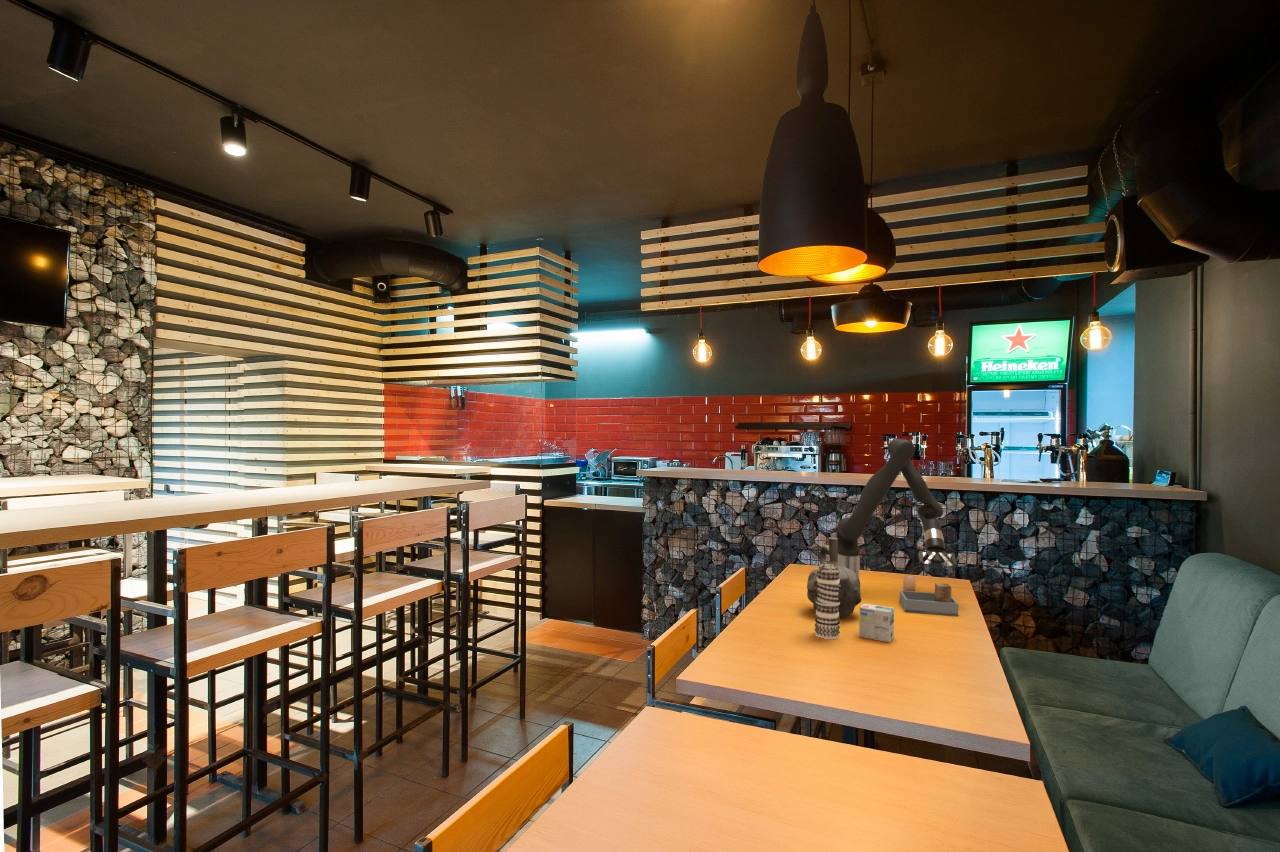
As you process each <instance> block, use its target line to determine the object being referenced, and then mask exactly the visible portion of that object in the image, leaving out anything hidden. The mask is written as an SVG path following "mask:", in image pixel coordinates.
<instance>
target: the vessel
mask: <svg viewBox="0 0 1280 852" xmlns="http://www.w3.org/2000/svg"><path fill="white" fill-rule="evenodd" d="M837 545H838V538H837V537H828V544H823V545H822V546H821V548H820V551H819V566H820V565H821V564H832V565H835V566H837V568H838V569H839V570H840V571H839V579H840V582H839V584H840V585H841V587H840V588H838V589H840V590H841V592H839V593H838V594H839V595H840V596H841V597H840V598H839V599H840V600H841V601H840V605H839V610H838V611H839V617H840V618H845V617H849V616H851V615H853V613H854V611H855V608H856V606H858V605H859V604H861V602H862V596H861V580H860V576H859V577H858V576H857V574H856V573H855V572H853V571H851V570H849V569H848V568H846V567H844V566H841V565H839V563H838V548H837ZM827 554H828V555H829V560H828V561H827ZM819 566H818V567H817V568H819ZM817 568H816V569H812V570H811V571H810V573H809V575H808V578H807V583H806V584H807V585H806V588H807V593H806V595H807V599H808V600H809V602H811V603H812V604H813V610H814V611H815V612H816V609H817V603H816V600H815V598H816V597H817V596H816V595H815V592H816V591H815V588H816V586H815V582H816V581H817ZM817 585H818V584H817Z"/></svg>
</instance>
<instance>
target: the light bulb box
mask: <svg viewBox="0 0 1280 852" xmlns="http://www.w3.org/2000/svg"><path fill="white" fill-rule="evenodd" d="M858 634H859V635H858V636H860V637H859V638H863V637H864V638H865V639H871V640H874V641H881V642H886V643H891V641H893V639H894V638H895V636H894V635H895V608H894V607H890V606H882V605H877V604H876V605H875V604H869V603H865V602H864V603H863V604H862V605H861V606H859V633H858ZM864 638H863V639H864Z"/></svg>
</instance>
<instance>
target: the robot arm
mask: <svg viewBox="0 0 1280 852" xmlns="http://www.w3.org/2000/svg"><path fill="white" fill-rule="evenodd" d="M915 449H916V448H915V444H914V443H913V442H912V441H911V440H908V439H904V438H894V439H891V440H890V441H889V443H888V444H887V452H888V455H889V456H890V457H889V458H888V460H887V461H886V463H885V464H884V465H883V466H882V467H881V468H880V469H879V470H877V471H876V472H875V473H874V474H873V475H871V477H869V479H868V481H867V482H866V484H865V485H864V487H863V489H862V491H861V493H860V496H859V500H858V504H857V506H856V508H855V510H854V511H853V513H852V514H851V515H850V516H849V517H844V518H842V519H840V520H839V521H838V522H837V524H836V525H837V526H836V538H838V545H837V561H838V563H839V565H841V566H844V567H846V568H848V569H849V570H851V571H853V572H855V573H856V574H857V576H858V577H859V578H860V566H861V565H860V559H861V558H860V554H861V550H860V548H859V544H858V543H859V542H858V541H859V539H860V537H862V535H863V532H864V530H865V529H866V526H867V525H868V523H869V520H870V519H871V517H872V516H873V514H874V513H875V511H877V508H878V507H879V506H880V504H881V502H882V501H883V500H884V499H885V497H886V495H887V493H888V492H889V491H890V488H891V487H892V485H893V484H894V483H895V481H896V480H897V478H898V475H899V474H900V473H901V474H902V475H903V478H904V480H905V481H906V483H907V485H908V487H909V489H910V491H911V495H913V498H914V499H915V502H918V503H924V504H922V505H919V506H918V507H917V510H916V514H917V516H918V517H919V520H921V523H922V527H923V531H924V545H925V552H924V551H923V550H919V552H918V565H919V566H923V568H924V573H925V574H926V575H927V576H929V574H930V567H929V565H930V564H931V563H933V564H937V563H938V564H942V565H943V566H945V567H946V568H947V572H948V573H947V574H948V577H952V575H953V574H954V570H953V569H956V567H957V563H958V562H957V559H956V554H955V553H954V552H951V553H947V551H946V546H945V545H946V544H945V539H944V535H943V531H942V526H941V522H940V520H938V518H942V517H943V516H944V509H943V506H942V505H941V504H940V503H939V502H938V500H937V498H935V496H933V495H932V493H931V492H930V490H929V488H928V487H929V486H927V483H926V481H925V479H924V478H923V476H922V475H921V474H920V472H919V471H918V470H917V469H916V467H915V466H914V464H913V461H911V459H912V458H913V456H914V454H915ZM925 503H926V504H925ZM924 557H926V558H927V559H926V560H924Z"/></svg>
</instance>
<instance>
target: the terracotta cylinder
mask: <svg viewBox="0 0 1280 852" xmlns="http://www.w3.org/2000/svg"><path fill="white" fill-rule="evenodd" d="M902 577H903V578H902V579H903V580H902V582H903V583H902V591H913V592H917V591H916V588H917V587H916V585H917V584H916V583H917V576H916V575H911V574H904V575H903V576H902Z"/></svg>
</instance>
